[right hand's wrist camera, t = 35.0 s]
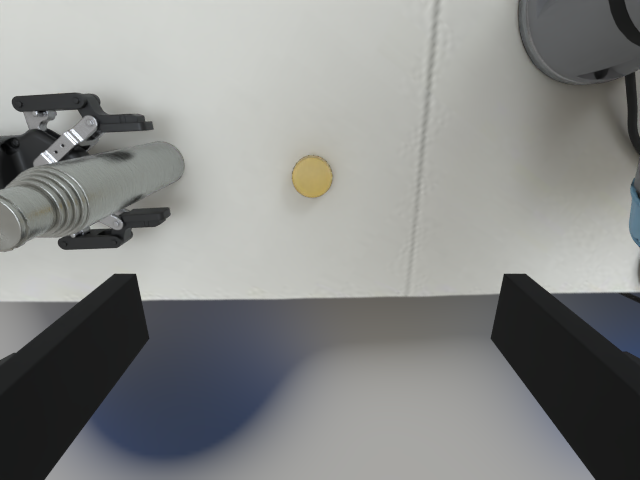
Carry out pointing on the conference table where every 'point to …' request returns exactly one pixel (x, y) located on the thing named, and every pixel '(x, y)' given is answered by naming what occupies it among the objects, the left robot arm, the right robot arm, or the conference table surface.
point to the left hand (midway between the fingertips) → (158, 171)
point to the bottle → (82, 191)
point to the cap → (312, 176)
